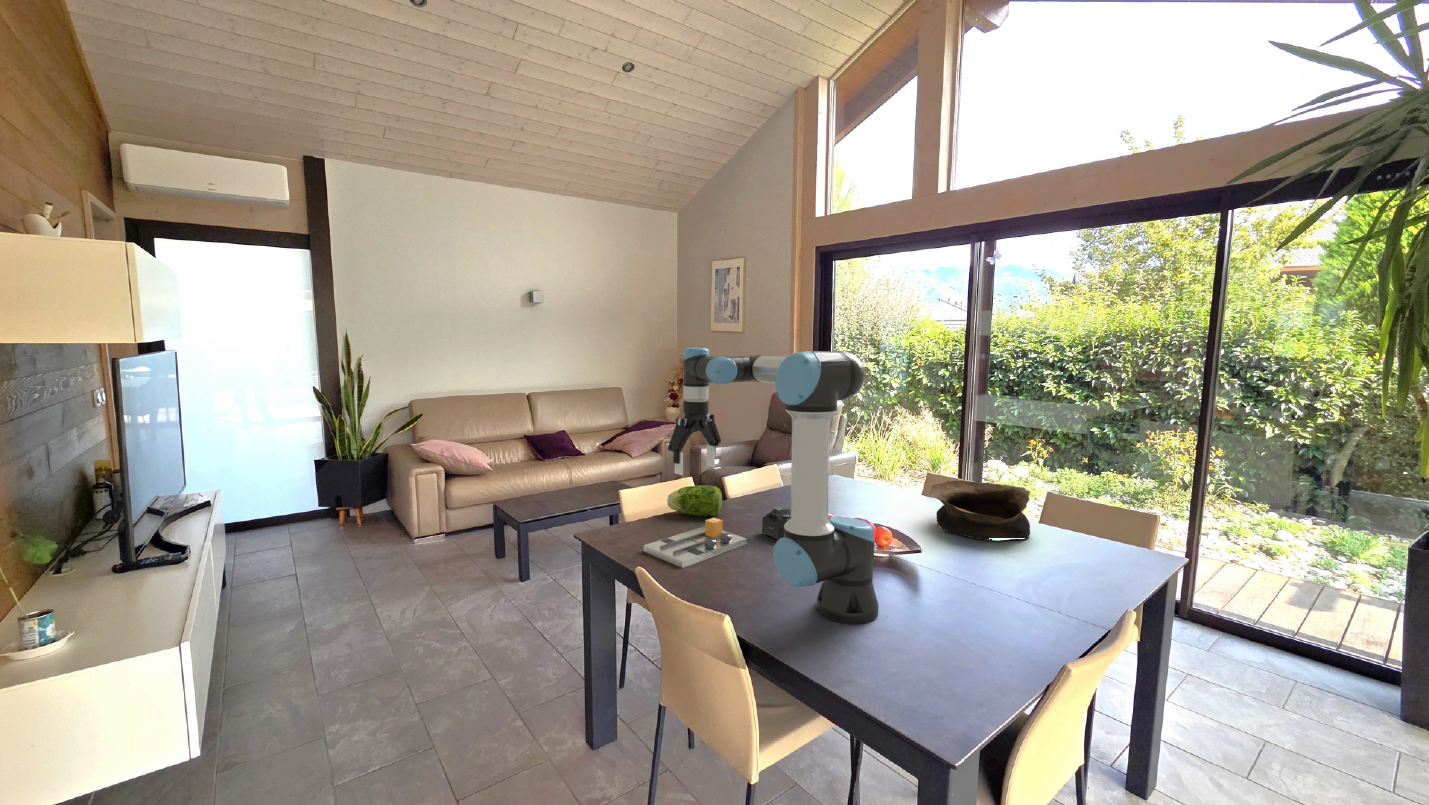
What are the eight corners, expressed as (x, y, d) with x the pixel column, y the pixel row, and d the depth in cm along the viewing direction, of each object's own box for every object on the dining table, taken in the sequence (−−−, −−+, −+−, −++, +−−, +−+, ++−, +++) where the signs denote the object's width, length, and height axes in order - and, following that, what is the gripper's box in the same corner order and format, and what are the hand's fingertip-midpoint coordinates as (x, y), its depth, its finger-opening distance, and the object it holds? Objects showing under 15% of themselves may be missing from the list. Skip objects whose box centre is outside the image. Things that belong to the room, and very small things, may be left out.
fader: (722, 535, 199) (722, 519, 198) (713, 538, 196) (714, 522, 195) (713, 532, 202) (713, 516, 201) (705, 535, 199) (705, 519, 198)
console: (746, 544, 197) (746, 531, 197) (682, 568, 177) (682, 553, 177) (707, 530, 210) (707, 518, 209) (643, 551, 190) (643, 537, 189)
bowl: (1051, 551, 199) (1054, 508, 196) (949, 555, 200) (951, 512, 197) (1003, 511, 233) (1005, 473, 230) (915, 514, 234) (917, 476, 230)
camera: (804, 536, 206) (805, 508, 204) (792, 545, 197) (793, 515, 196) (769, 529, 213) (770, 501, 211) (756, 537, 204) (756, 508, 203)
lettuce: (669, 509, 234) (669, 480, 232) (722, 511, 232) (723, 482, 231) (664, 519, 222) (664, 488, 221) (721, 520, 221) (721, 490, 220)
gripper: (715, 395, 192) (714, 461, 194) (655, 402, 173) (655, 475, 176) (733, 397, 187) (731, 465, 189) (673, 405, 168) (673, 479, 171)
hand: (695, 470), depth 183 cm, fingers open, 13 cm apart
